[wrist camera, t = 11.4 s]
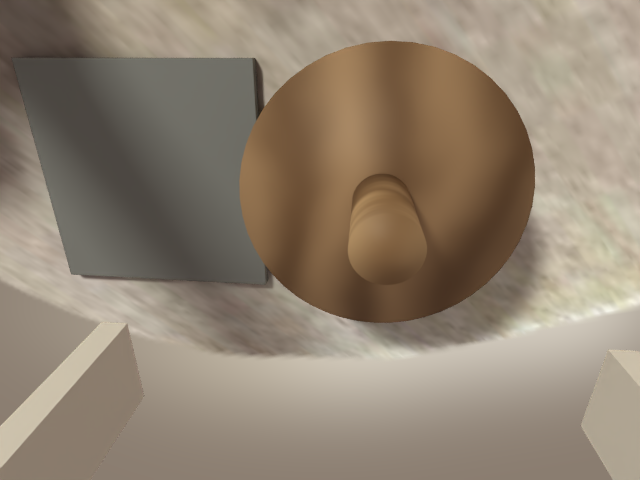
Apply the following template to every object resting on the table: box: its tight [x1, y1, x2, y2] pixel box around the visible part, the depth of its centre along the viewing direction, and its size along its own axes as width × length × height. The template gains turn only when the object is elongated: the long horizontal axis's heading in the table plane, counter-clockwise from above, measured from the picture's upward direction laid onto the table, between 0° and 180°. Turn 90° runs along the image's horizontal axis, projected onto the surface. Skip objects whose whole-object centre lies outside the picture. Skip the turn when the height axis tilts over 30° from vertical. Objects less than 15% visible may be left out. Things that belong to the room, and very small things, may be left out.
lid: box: [239, 41, 535, 323], centre depth 25 cm, size 20×20×9 cm
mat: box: [12, 58, 268, 285], centre depth 40 cm, size 22×22×1 cm
